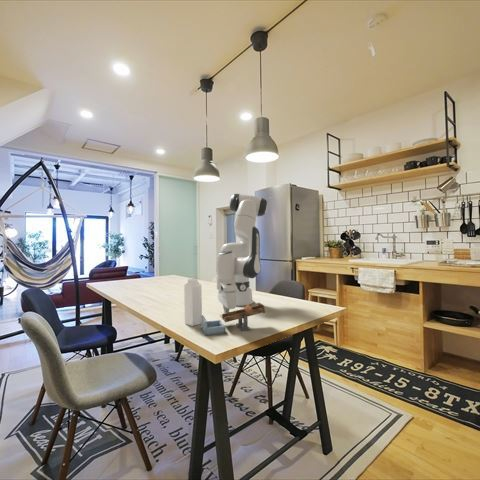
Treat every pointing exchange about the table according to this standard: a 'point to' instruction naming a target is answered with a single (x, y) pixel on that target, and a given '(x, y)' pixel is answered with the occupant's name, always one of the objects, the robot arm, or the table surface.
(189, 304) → the milk
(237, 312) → the lever
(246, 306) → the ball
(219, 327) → the light blue open box
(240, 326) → the pivot stand
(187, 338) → the table surface
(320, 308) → the table surface
